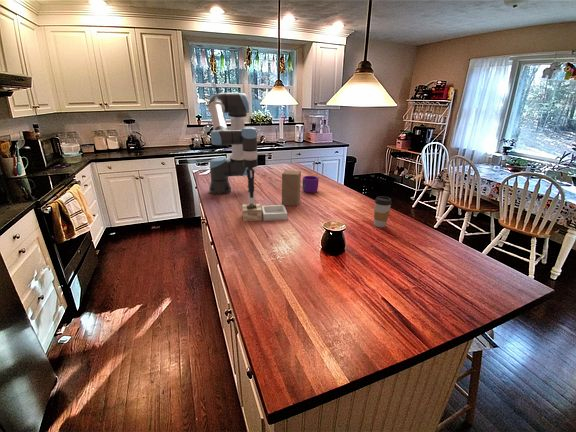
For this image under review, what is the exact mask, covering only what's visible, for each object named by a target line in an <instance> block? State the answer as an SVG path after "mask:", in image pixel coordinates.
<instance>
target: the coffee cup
mask: <svg viewBox="0 0 576 432" xmlns="http://www.w3.org/2000/svg"><path fill="white" fill-rule="evenodd" d="M391 205H392V198H391V197H389V196H383V195H382V196H376V198H375V201H374V212H373V225H374V226H375V227H377V228H385V227H386V226H387V222H388V219H389V215H390V210H391Z"/></svg>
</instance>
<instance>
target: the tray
mask: <svg viewBox="0 0 576 432" xmlns="http://www.w3.org/2000/svg"><path fill="white" fill-rule="evenodd" d="M261 210H262V220H263V222H269V221H270V222H273V221H275V222H276V221H287V220H288V211H287V209H286V206H285V205H282V204H278V205H277V204H276V205H275V204H273V205H261Z"/></svg>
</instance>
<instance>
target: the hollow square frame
mask: <svg viewBox="0 0 576 432" xmlns="http://www.w3.org/2000/svg"><path fill="white" fill-rule="evenodd" d="M241 206H242V207H241V208H242V221H243V222H249V221H250V222H251V221H252V220H254V221H255V222H256V221H262V220H263V216H262V205H261V203H255V209H249V205H248V203H243V204H242V205H241ZM252 222H253V221H252Z"/></svg>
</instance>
